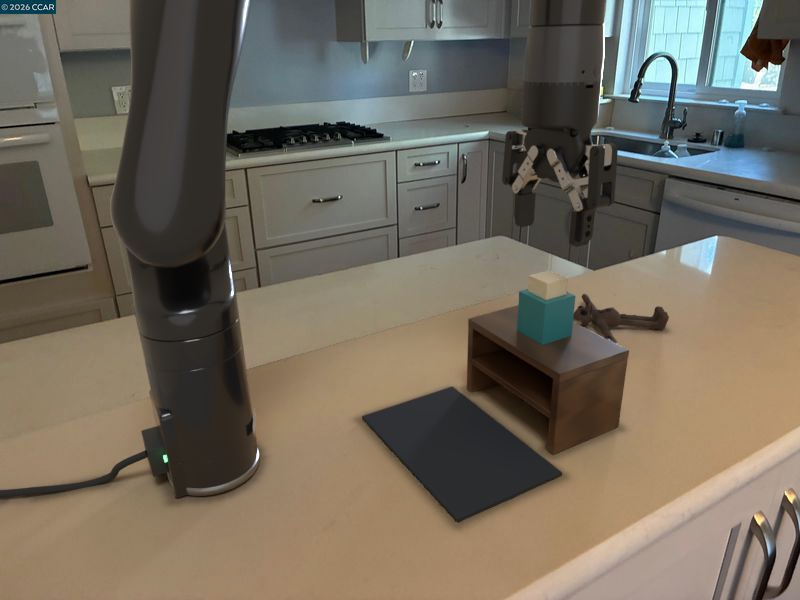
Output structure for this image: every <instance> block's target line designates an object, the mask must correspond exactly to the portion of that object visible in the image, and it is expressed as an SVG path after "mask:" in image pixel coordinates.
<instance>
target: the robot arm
mask: <svg viewBox="0 0 800 600" xmlns="http://www.w3.org/2000/svg"><path fill="white" fill-rule="evenodd" d="M251 5H252V0H128V23H129V24H128V27H129V47H130V65H131V67H130V69H131V72H130V73H131V75H130V76H131V82H130V95H129V96H130V97H129V104H128V113H127V118H126V124H125V130H124V136H123V141H122V148H121V152H120V157H119V162H118V167H117V171H116V177H115V180H114V184H113V187H112V190H111V193H110V199H109V216H110V220H111V225H112V227H113V229H114V232H115V233H116V235H117V238H118V239H119V240H120V242H121V243H122V244H123V246H124V248H125V253H126V257H127V262H128V268H129V275H130V284H131V292H132V306H133V312H134V317H135V321H136V326H137V330H138V336H139V340H140V346H141V349H142V354H143V360H144V364H145V369H146V374H147V378H148V382H149V383H148V384H149V388H150V389H149V399H150V404H151V407H152V413H153V417H154V422H155V426H152V427H149V428H146V429H142V430H141V431H140V433H141V435H142V441H143V445H144V449H145V450H142V451H140V452H138V453H135V454H133V455H131V456H129V457H126V458H124V459H123V460H121V461H119V462H118V463H116V464H115V465H114V466H113V467H112V469H111V470H110V472H108V473H107V474H103V475H102V476H98V477H96V478H92V479H89V480H83V481H79V482H73V483H65V484H53V485H41V486H31V487H20V488H9V489H8V488H7V489H0V498H12V497H24V496H32V495H33V496H34V495H42V494H43V495H44V494H45V495H46V494H54V493H55V494H57V493H63V492H64V493H65V492H71V491H75V490H81V489H85V488H90V487H96V486H100V485H103V484H105V483H108V482H111V481H113V480H114V479H116V477H117V476H118V475H119V473H120V471H121V470H123V469H125V468H127V467H128V466H131V465H133V464H135V463H138V462H140V461H143V460H144V459H147V461H148V465H149V468H150V471H151V474H152V477H157V476H160V475H163V474H167V479H168V483H169V484H170V486H171V489H172V491H173V495H174V497H175V498H181V497H184V496H185V497H186V496H193V497H194V496H196V497H201V496H202V497H207V496H214V495H218V494H223V493H226V492H227V491H231V490H233V489H235V488H237V487H239V486H240V485H242V484H244V483H245V482H246V481H248V480H249V479H250V478H251V477H252V476H253V475H254V474H255V472H256V471H257V469H258V467H259V465H260V451H259V447H258V441H257V436H256V420H257V419H256V418H257V415H256V407H255V406H254V407H252V400H251V394H250V386H249V378H248V370H247V365H246V363H247V362H246V357H245V350H244V342H243V341H244V340H243V336H242V335H243V334H242V327H241V320H240V310H239V305H238V295H237V289H236V282H235V277H234V272H233V266H232V265H233V264H232V260H231V254H230V248H229V247H230V246H229V240H228V233H227V226H226V219H227V204H226V169H227V168H226V167H227V166H226V163H227V142H228V141H227V140H228V139H227V138H228V123H229V113H230V105H231V100H232V94H233V89H234V85H235V81H236V77H237V74H238V73H237V72H238V69H239V64H240V61H241V56H242V52H243V47H244V42H245V38H246V32H247V28H248V23H249V18H250V12H251ZM606 12H607V0H529V14H528V15H529V16H528V17H529V18H528V32H527V39H526V44H525V48H524V49H525V50H524V60H523V80H522V97H521V98H522V99H521V117H520V120H521V121H520V122H521V124H522V126H524V127H526V129H518V130H517V129H516V130H509V131H507V132H506V133H505V140H504V152H503V163H502V164H503V165H502V177H501V180H502V183H503V185H505V186H509V187H511V190H512V192H513V194H514V208H513V209H514V210H513V217H514V225H515V226H516V227H520V228H524V227H530V226H532V225H533V224H534V222H535V210H536V209H535V208H536V192H534V191H535V190H536V188H537V187H538V185H539V184H540V183H541V181H542V180H543V179H548V180H549V181H551V182H553V183H557V184H558V183H559V185H560V188H561V190H562V191H563V192H564V193H566V194H567V195H568V198H569V200H570V203H571V204H572V207H573V209H574V210H571V213H570V226H569V236H568V244H569V245H570V246H573V247H575V248H579V247H582V246H586V245H588V244H589V242H590V241H591V240H592V238H593V234H594V233H593V232H594V224H595V215H596V211H597V209H600V208H604V207H605V208H606V207H610V206H613V205H614V203H615V196H616V183H617V167H618V153H619V152H618V151H619V149H618V146H617V144H616V143H604V144H603V143H602V144H593V140H592V131H593V129H594V128H595V126H596V125H597V123H598V122H599V111H600V103H601V102H600V101H601V94H602V93H601V92H602V80H603V72H604V62H605V22H606ZM515 164H516V167H515V172H514V165H515ZM577 176H578V177H579V178H576V177H577Z"/></svg>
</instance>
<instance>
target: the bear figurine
mask: <svg viewBox="0 0 800 600" xmlns="http://www.w3.org/2000/svg"><path fill="white" fill-rule="evenodd" d="M581 299H582V302H583V303H584V304H585V305H578V307H577V308H576V309H575V310H574V317H573V322H574V323H576V324H578V325H580V326H582V327H584V328H586V327H587V326H588V325H589V324H590V323H592V325H593V326H594V327H597V328H598V329H599V330H600V331H601V333H602V335H603V337H604V338H606V339H608V340H610V341H612V342H614V343H616V344H618V341H617V339H616V338H615V337H614V335H613V334H612V332H611V329H610V328H617V327H618V326H625V327H636V328H648V329H650V330H653V329H657V330H659V331H664V330H665V329H666V327H667V324H668V322H669V320H670V316H669V315H668V314H669V313H668V312H667V311H665V309H664V308H663V306H661V305H660V306H658V305H657V306H655V307H654V311H653V314H652V315H651V316H648V315H647V316H646V315H636V314H626V313H620V312H619V311H618V310H617V309H616V308H615V307H613V306H612V307H606V308H602V309H598V308H597V306H596V305H595V304H594V303H593V302H592V300H591V298H590V296H589V295H588V294H587V293H586V294H585V293H583V294H581Z"/></svg>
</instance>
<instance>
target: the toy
mask: <svg viewBox="0 0 800 600" xmlns="http://www.w3.org/2000/svg"><path fill="white" fill-rule="evenodd" d="M568 281H569V279H568V277H566V276H563V275H561V274H559V273H556V272H555V271H552V270H545V271H541V272H537V273H533V274H529V276H528V287H527V288H526V289H522V290H519V291H518V304H517V305H518V321H517V331H519V332H520V333H522V334H524V335H526V336H527V337H529V338H531V339H533V340H534V341H536V342H538V343H540V344H541V345H544V344H547V343H551V342H554V341H557V340H560V339H563V338H566V337H569V336H572V328H573V317H574V312H575V307H576V297H577V296H576V295H575V294H573V293H571V292H568V291H567V290H568Z"/></svg>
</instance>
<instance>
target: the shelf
mask: <svg viewBox="0 0 800 600" xmlns="http://www.w3.org/2000/svg"><path fill="white" fill-rule="evenodd" d="M467 319H468V320H467V324H468V325H467V329H468V330H467V360H466V361H467V362H466V363H467V364H466V390H467V391H469V392H470V393H473V392H476V391H479V390H482V389H486V388H488V387H490V386H491V387H492V386H495V385H498V384H500V385H501V386H503V387H504V389H505V388H506V389H507V390H508V391H510V392H511V393H512V394H514V395H515V396H516V397H518V398H520V400H523V401H524V402H525V403H526V404H527V405H530V406H531V407H532V408H533V409H536V410H537V411H538V412H540V413H541V414H542V415H544V416H545V417H547V418H548V419H549V421H548V431H547V433H548V434H547V445H546V451H547V452H548V453H550V455H553V456H554V455H556V454H558V453H561V452H563V451H566V450H567V449H570V448H572V447H575V446H577V445H580V444H582V443H584V442H587V441H589V440H591V439H593V438H596V437H599V436H601V435H603V434H605V433H608V432H610V431H612V430H615V429H617V428H619V426H620V419H621V410H622V404H623V398H624V397H623V396H624V389H625V382H626V375H627V368H628V360H629V353H630V349H628V348H626V347H624V346H622V345H621V344H618V343H617V344H616V343H614V342H612V341H610V340H608V339H606V338H605V336H602V335H600V334H598V333H596V332H593V331H592V330H589V329H587V328H586V327H585V328H584V327H582V326H580V325H578V324H576V323H574V322H573V328H572V336H569V337H566V338H563V339H560V340H557V341H554V342H551V343H547V344H544V345H541V344H540V343H538V342H536V341H534V340H533V339H531V338H529V337H527V336H526V335H524V334H522V333H520V332H519V331H517V321H518V304H516V305H513V306H509V307H505V308H502V309H498V310H495V311H491V312H488V313H483V314H481V315H477V316H473V317H469V318H467Z"/></svg>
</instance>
